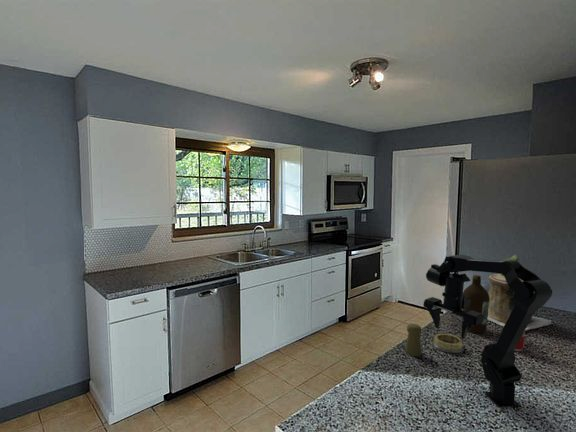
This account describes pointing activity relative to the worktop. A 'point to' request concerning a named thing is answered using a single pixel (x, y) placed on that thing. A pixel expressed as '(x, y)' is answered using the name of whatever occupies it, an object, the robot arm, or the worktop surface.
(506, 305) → the cookie jar
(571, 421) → the worktop surface
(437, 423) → the worktop surface
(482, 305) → the olive oil
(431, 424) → the worktop surface
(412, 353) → the cork
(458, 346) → the collar socket
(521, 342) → the beverage can
